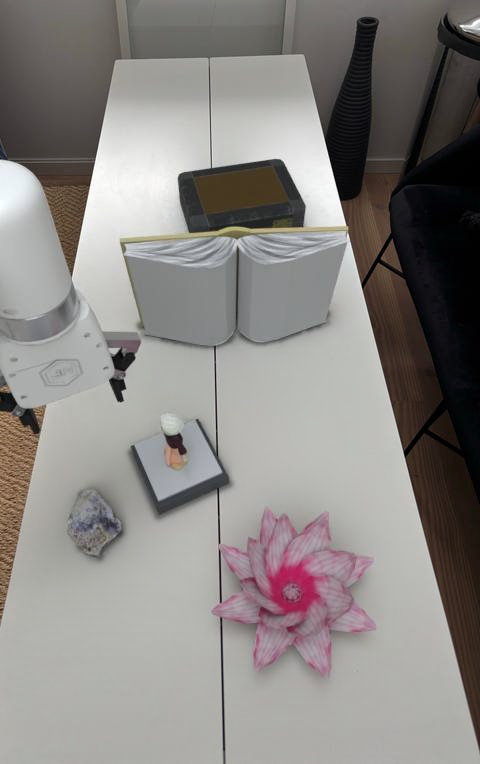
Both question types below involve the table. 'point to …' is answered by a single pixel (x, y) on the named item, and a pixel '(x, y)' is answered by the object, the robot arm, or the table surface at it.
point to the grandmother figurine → (174, 440)
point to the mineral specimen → (92, 523)
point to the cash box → (241, 197)
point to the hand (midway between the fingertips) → (76, 408)
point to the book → (234, 281)
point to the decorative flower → (295, 590)
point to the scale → (190, 479)
